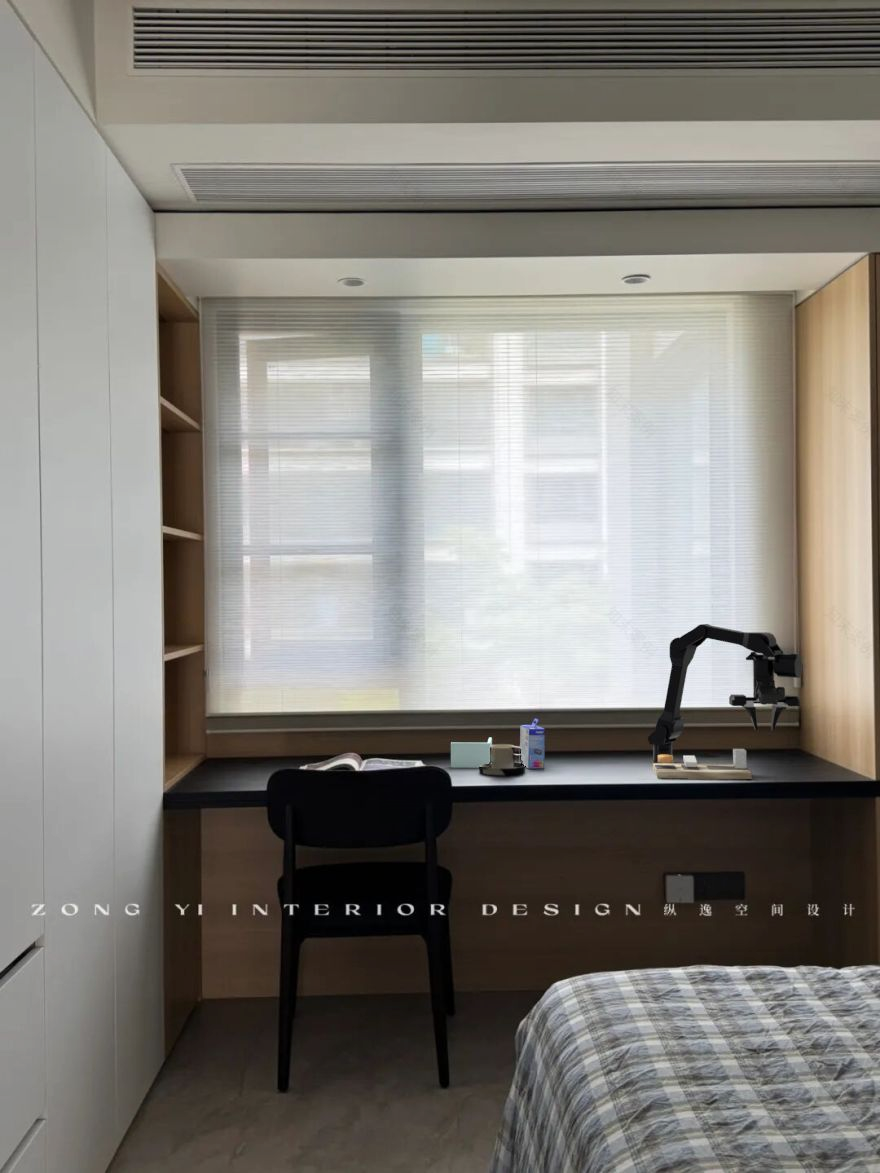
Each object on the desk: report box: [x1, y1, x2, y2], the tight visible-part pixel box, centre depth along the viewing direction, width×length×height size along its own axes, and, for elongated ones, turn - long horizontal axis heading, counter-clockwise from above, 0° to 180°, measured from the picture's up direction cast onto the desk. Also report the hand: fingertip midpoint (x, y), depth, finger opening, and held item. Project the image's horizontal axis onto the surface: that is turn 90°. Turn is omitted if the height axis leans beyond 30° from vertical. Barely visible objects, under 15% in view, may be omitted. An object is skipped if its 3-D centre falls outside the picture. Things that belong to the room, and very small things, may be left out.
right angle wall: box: [450, 737, 493, 769], centre depth 303 cm, size 12×12×8 cm
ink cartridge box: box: [519, 718, 546, 770], centre depth 298 cm, size 10×6×14 cm, turn 11°
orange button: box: [658, 754, 674, 763], centre depth 284 cm, size 4×4×2 cm
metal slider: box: [732, 748, 747, 769], centre depth 281 cm, size 4×3×5 cm
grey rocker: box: [682, 755, 698, 767], centre depth 283 cm, size 6×3×1 cm, turn 173°
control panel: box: [652, 762, 753, 780], centre depth 282 cm, size 14×26×2 cm, turn 83°
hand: (764, 730), depth 280 cm, fingers open, 4 cm apart
